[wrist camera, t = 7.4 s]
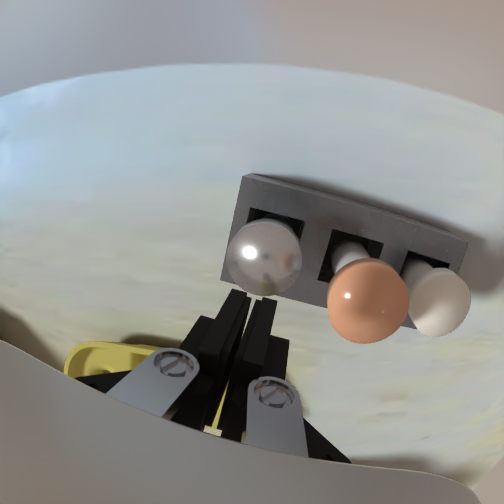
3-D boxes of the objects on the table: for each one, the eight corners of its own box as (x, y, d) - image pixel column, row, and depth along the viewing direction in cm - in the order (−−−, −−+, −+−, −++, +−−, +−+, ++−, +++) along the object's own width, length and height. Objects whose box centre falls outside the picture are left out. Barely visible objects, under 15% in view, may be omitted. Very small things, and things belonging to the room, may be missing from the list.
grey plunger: (307, 210, 26) (310, 234, 18) (294, 260, 27) (290, 303, 19) (255, 196, 26) (234, 215, 18) (243, 247, 28) (219, 285, 20)
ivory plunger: (435, 248, 25) (480, 283, 17) (418, 293, 27) (453, 341, 19) (393, 234, 26) (428, 268, 17) (376, 282, 27) (402, 330, 19)
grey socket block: (448, 231, 25) (468, 242, 21) (418, 311, 27) (431, 332, 23) (251, 173, 26) (242, 176, 22) (231, 263, 29) (220, 280, 25)
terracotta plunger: (384, 238, 23) (421, 278, 15) (366, 290, 24) (390, 349, 16) (329, 222, 23) (343, 257, 15) (313, 276, 25) (317, 333, 17)
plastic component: (247, 361, 29) (240, 455, 27) (251, 350, 36) (244, 429, 34) (64, 332, 30) (65, 416, 28) (95, 329, 37) (94, 401, 36)
